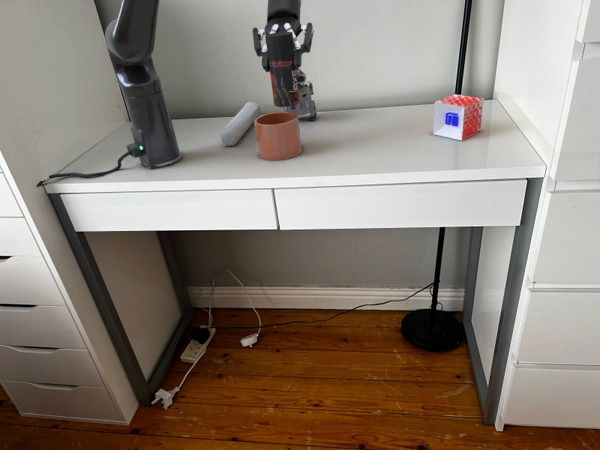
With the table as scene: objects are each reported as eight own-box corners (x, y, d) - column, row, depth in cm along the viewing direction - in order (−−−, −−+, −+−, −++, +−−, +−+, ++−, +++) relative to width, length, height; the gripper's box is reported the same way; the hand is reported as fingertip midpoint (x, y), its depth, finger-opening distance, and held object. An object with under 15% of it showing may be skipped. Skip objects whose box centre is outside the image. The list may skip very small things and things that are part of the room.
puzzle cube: (480, 130, 108) (483, 98, 104) (461, 140, 104) (464, 106, 100) (451, 125, 114) (453, 94, 110) (432, 134, 110) (434, 102, 106)
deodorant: (296, 106, 101) (289, 35, 93) (271, 107, 102) (261, 37, 95) (301, 99, 106) (295, 30, 98) (277, 100, 107) (269, 33, 99)
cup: (277, 163, 104) (273, 128, 100) (251, 154, 111) (245, 121, 107) (310, 149, 109) (307, 115, 105) (282, 141, 117) (278, 109, 112)
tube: (237, 133, 114) (262, 104, 135) (218, 127, 114) (245, 99, 135) (235, 151, 117) (259, 120, 138) (215, 146, 117) (242, 116, 138)
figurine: (279, 128, 126) (272, 74, 119) (289, 116, 136) (283, 65, 128) (311, 127, 124) (305, 72, 116) (318, 115, 134) (314, 62, 126)
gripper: (249, -5, 100) (245, 61, 96) (312, -12, 98) (311, 56, 93) (258, 18, 107) (254, 80, 103) (317, 12, 105) (316, 76, 101)
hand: (281, 68), depth 98 cm, fingers closed on deodorant, 6 cm apart
